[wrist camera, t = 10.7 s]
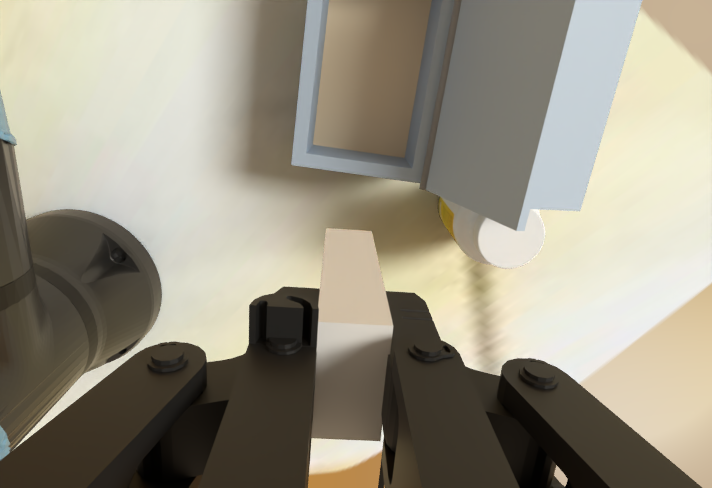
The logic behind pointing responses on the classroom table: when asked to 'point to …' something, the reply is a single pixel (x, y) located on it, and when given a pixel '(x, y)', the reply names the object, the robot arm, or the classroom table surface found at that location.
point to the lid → (524, 103)
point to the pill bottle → (492, 236)
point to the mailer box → (369, 85)
